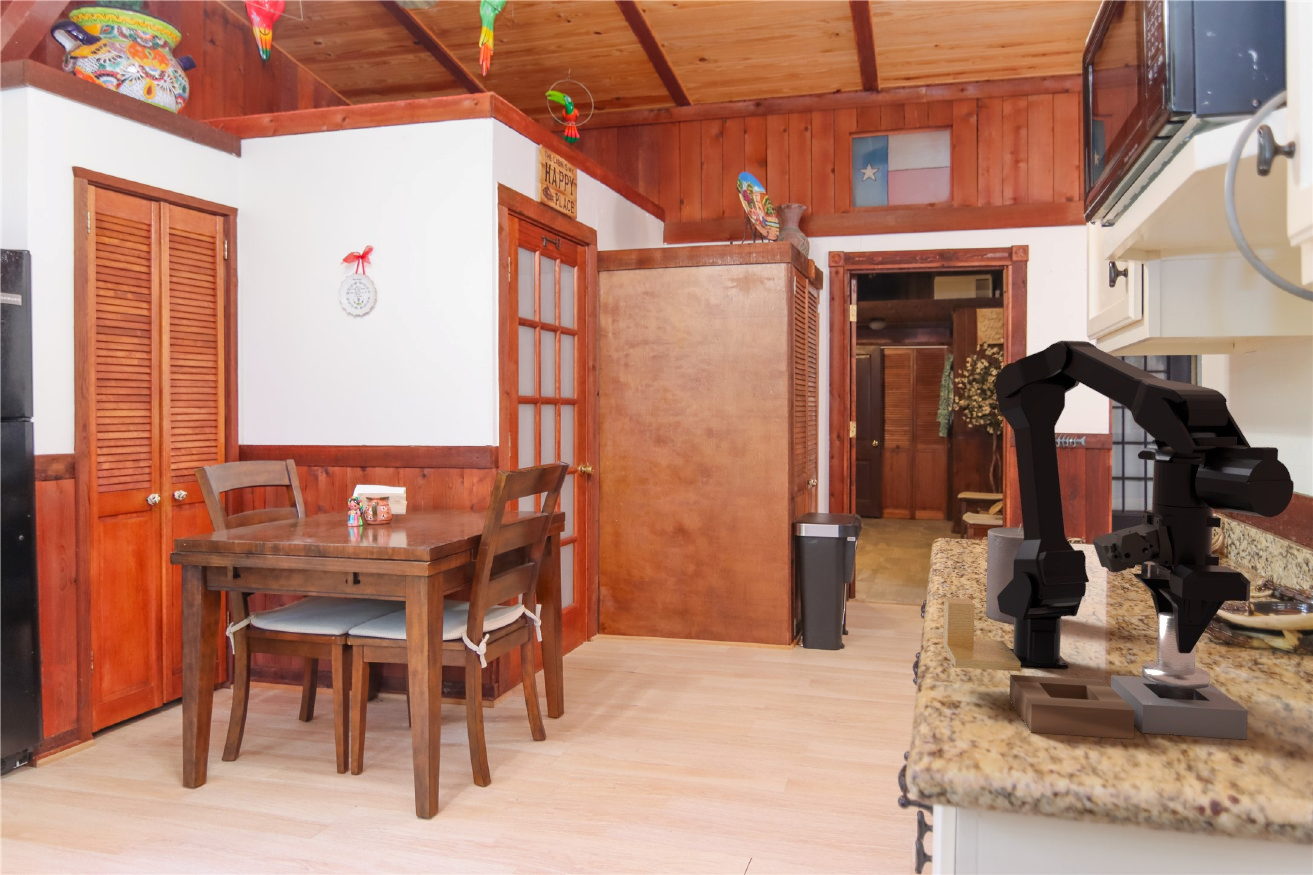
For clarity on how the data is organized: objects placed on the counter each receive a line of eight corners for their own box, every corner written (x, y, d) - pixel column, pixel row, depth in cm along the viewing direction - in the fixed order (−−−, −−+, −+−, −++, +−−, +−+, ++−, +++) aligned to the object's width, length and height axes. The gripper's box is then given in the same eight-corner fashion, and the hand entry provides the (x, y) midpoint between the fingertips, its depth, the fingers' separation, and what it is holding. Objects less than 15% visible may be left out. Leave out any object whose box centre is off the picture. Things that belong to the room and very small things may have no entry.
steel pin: (1131, 695, 102) (1134, 608, 102) (1192, 698, 102) (1194, 609, 101) (1155, 715, 96) (1158, 622, 95) (1220, 718, 95) (1223, 624, 95)
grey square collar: (1110, 700, 104) (1111, 674, 104) (1204, 706, 103) (1205, 680, 103) (1142, 732, 95) (1143, 704, 94) (1246, 739, 93) (1247, 710, 93)
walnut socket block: (1009, 700, 104) (1010, 674, 104) (1102, 705, 103) (1102, 679, 103) (1030, 732, 94) (1031, 703, 94) (1133, 738, 93) (1134, 710, 93)
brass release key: (943, 645, 111) (944, 597, 111) (1003, 649, 110) (1004, 600, 110) (955, 667, 102) (956, 614, 102) (1020, 671, 101) (1022, 618, 101)
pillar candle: (1008, 607, 150) (1009, 517, 149) (1064, 619, 142) (1066, 524, 141) (973, 616, 144) (974, 522, 143) (1029, 629, 136) (1031, 530, 136)
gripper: (1077, 493, 108) (1072, 622, 109) (1133, 513, 90) (1127, 669, 91) (1177, 495, 106) (1172, 627, 107) (1256, 517, 88) (1249, 676, 89)
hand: (1176, 647), depth 98 cm, fingers closed on steel pin, 4 cm apart
